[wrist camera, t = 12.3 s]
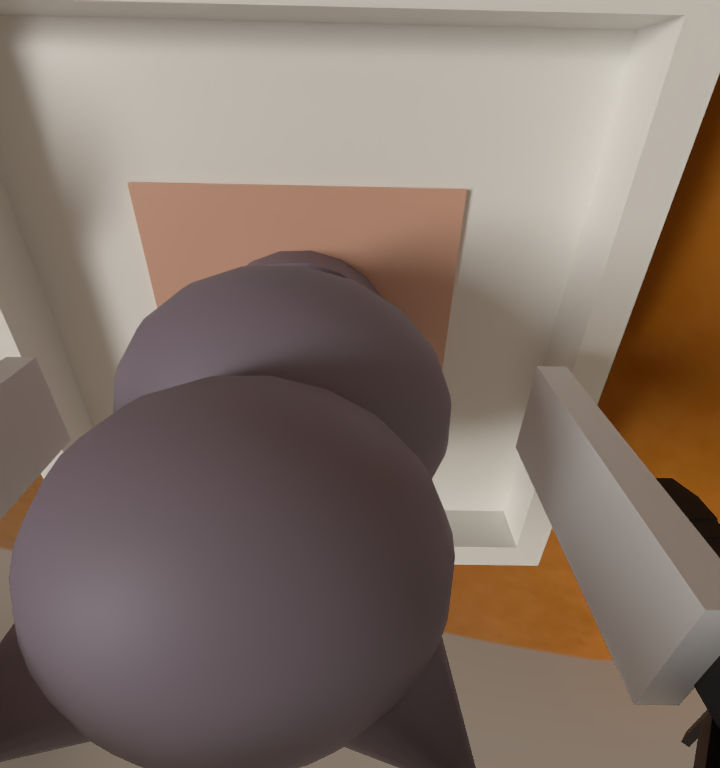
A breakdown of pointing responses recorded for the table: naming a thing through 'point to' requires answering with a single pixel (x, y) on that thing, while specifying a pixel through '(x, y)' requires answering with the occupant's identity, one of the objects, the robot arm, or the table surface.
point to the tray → (353, 187)
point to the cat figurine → (246, 540)
